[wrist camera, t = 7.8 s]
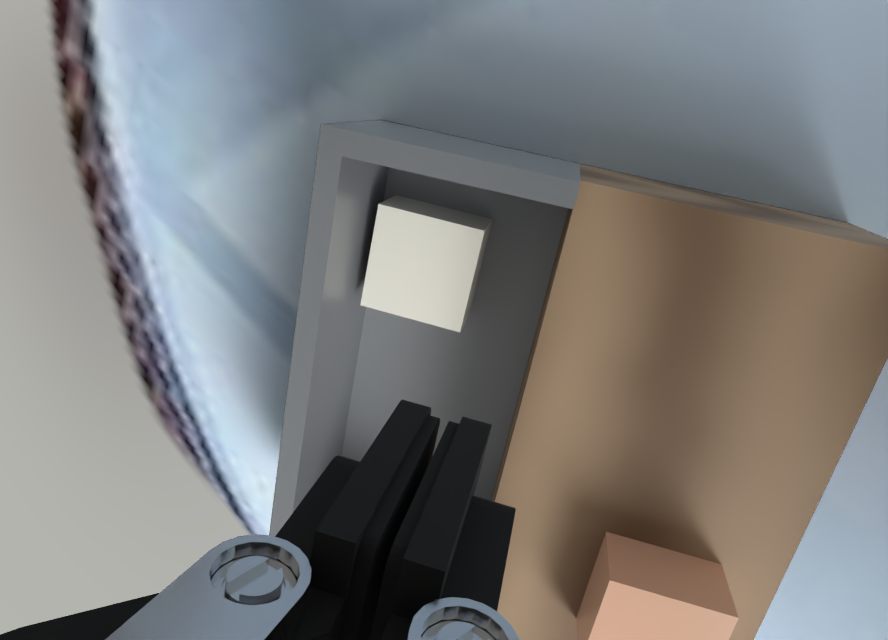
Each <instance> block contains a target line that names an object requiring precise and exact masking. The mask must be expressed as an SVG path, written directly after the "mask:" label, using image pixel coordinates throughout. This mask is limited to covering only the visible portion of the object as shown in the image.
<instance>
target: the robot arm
mask: <svg viewBox="0 0 888 640" xmlns="http://www.w3.org/2000/svg"><path fill="white" fill-rule="evenodd" d="M439 425H440V418H437V417H434V416H431V407H428V406H424V405H421V404H417V403H413V402H410V401H406V400H403V399H402V400H401V401H400V402H399V404H398V405H397V407H396V408H395V410H394V411H393V413H392V414H391V416H390V417H389V419H388V420H387V422H386V423H385V425H384V426H383V428H382V429H381V431H380V432H379V434H378V436H377V437H376V439H375V440H374V442H373V443H372V445H371V446H370V448H369V449H368V451H367V452H366V454H365V455H364V457H363V458H362V460H361V461H360V462H359V461H356V460H353V459H349V458H346V457H343V456H339V455H338V456H335V458H334V459H333V460H332V461H331V462H330V463H329V465H328V466H327V467H326V469H325V470H324V472H323V473H322V474H321V476H320V477H319V478H318V480H317V481H316V482H315V484H314V485H313V486H312V488H311V489H310V490H309V492H308V493H307V494H306V496H305V497H304V498H303V500H302V501H301V502H300V504H299V505H298V506H297V508H296V509H295V511H294V512H293V513H292V515H291V516H290V517H289V519H288V520H287V521H286V523H285V524H284V525H283V527H282V528H281V529H280V531H279V532H278V533H277V535H276V536H275V537H274V536H269V535H257V534H254V535H246V536H238V537H236V538H233V539H230V540H227V541H224V542H222V543H221V544H219V545H217V546H216V547H214V548H213V549H211V550H210V551H208V552H207V553H206V554H205V555H204V556H203V557H202V558H200V559H199V560H198V561H197V562H196V563H194V564H193V565H192V566H191V567H190V568H189V569H187V570H186V571H185V572H184V573H183V574H182V575H180V576H179V577H178V578H177V579H176V580H175V581H174V582H172V583H171V584H170V585H169V586H167V587H166V588H165V589H164V590H163V591H162V592H160V593H157V594H153V595H149V596H145V597H141V598H137V599H133V600H129V601H125V602H121V603H117V604H113V605H109V606H105V607H101V608H97V609H94V610H90V611H85V612H81V613H77V614H74V615H69V616H65V617H61V618H57V619H53V620H49V621H46V622H41V623H37V624H33V625H29V626H25V627H22V628H18V629H16V630H13V631H10V632H7V633H4V634H1V635H0V640H520V639H519V637H518V635H517V634H516V632H515V630H514V629H513V627H512V625H511V624H510V623H509V622H508V621H507V620H506V619H505V618H504V617H503V616H502V615H501V614H500V613H499V612H497V609H498V604H499V598H500V593H501V587H502V582H503V577H504V571H505V566H506V560H507V555H508V550H509V544H510V539H511V533H512V528H513V522H514V517H515V511H516V508H514V507H510V506H507V505H504V504H500V503H497V502H493V501H490V500H487V499H483V498H480V497H477V496H474V495H475V491H476V487H477V483H478V479H479V475H480V471H481V467H482V463H483V459H484V455H485V451H486V447H487V443H488V439H489V435H490V431H491V427H492V425H491V424H488V423H484V422H481V421H477V420H474V419H470V418H467V417H462V419H461V421H460V424H458V423H455V422H451V421H449V422H448V424H447V426H446V428H445V430H444V433H443V435H442V437H441V439H440V441H439V444H438V446H437V448H436V450H435V452H434V448H435V443H436V439H437V434H438V430H439ZM433 452H434V454H433Z"/></svg>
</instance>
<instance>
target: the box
mask: <svg viewBox="0 0 888 640" xmlns="http://www.w3.org/2000/svg"><path fill="white" fill-rule="evenodd" d="M580 184H581V178H580V165H579V163H574V162H570V161H565V160H561V159H556V158H552V157H547V156H542V155H538V154H533V153H529V152H524V151H520V150H515V149H511V148H506V147H502V146H497V145H493V144H488V143H483V142H479V141H474V140H470V139H465V138H461V137H456V136H452V135H447V134H443V133H438V132H434V131H429V130H424V129H420V128H415V127H411V126H406V125H402V124H397V123H393V122H388V121H384V120H371V121H358V122H344V123H330V124H321V125H320V133H319V141H318V149H317V157H316V165H315V173H314V181H313V189H312V197H311V205H310V213H309V221H308V229H307V237H306V245H305V253H304V261H303V269H302V277H301V285H300V293H299V301H298V309H297V317H296V325H295V333H294V341H293V349H292V357H291V365H290V373H289V381H288V389H287V397H286V405H285V413H284V421H283V429H282V437H281V445H280V453H279V461H278V469H277V477H276V485H275V493H274V501H273V509H272V517H271V525H270V533H269V536H274V537H275V536H276V535H277V533H278V532H279V531H280V529H281V528H282V527H283V525H284V524H285V523H286V521H287V520H288V519H289V517H290V516H291V515H292V513H293V512H294V511H295V509H296V508H297V506H298V505H299V504H300V502H301V501H302V500H303V498H304V497H305V496H306V494H307V493H308V492H309V490H310V489H311V488H312V486H313V485H314V484H315V482H316V481H317V480H318V478H319V477H320V476H321V474H322V473H323V472H324V470H325V469H326V467H327V466H328V465H329V463H330V462H331V461H332V460H333V459H334V458H335V456H338V455H339V456H343V457H346V458H349V459H353V460H356V461H359V462H360V461H361V460H362V458H363V457H364V455H365V454H366V452H367V451H368V449H369V448H370V446H371V445H372V443H373V442H374V440H375V439H376V437H377V436H378V434H379V432H380V431H381V429H382V428H383V426H384V425H385V423H386V422H387V420H388V419H389V417H390V416H391V414H392V413H393V411H394V410H395V408H396V407H397V405H398V404H399V402H400V401H401V400H402V399H403V400H406V401H410V402H413V403H417V404H421V405H424V406H428V407H431V416H434V417H437V418H440V425H439V430H438V434H437V439H436V443H435V448H434V452H435V450H436V448H437V446H438V444H439V441H440V439H441V437H442V435H443V433H444V430H445V428H446V426H447V424H448V422H449V421H451V422H455V423H458V424H460V421H461V419H462V417H467V418H470V419H474V420H477V421H481V422H484V423H488V424H491V425H492V427H491V431H490V435H489V439H488V443H487V447H486V451H485V455H484V459H483V463H482V467H481V471H480V475H479V479H478V483H477V487H476V491H475V495H474V496H477V497H480V498H483V499H487V500H490V501H491V498H492V494H493V490H494V486H495V483H496V479H497V475H498V471H499V467H500V464H501V460H502V456H503V452H504V449H505V445H506V441H507V437H508V433H509V430H510V426H511V422H512V418H513V415H514V411H515V407H516V403H517V399H518V396H519V392H520V388H521V384H522V381H523V377H524V373H525V369H526V365H527V362H528V358H529V354H530V350H531V347H532V343H533V339H534V335H535V331H536V328H537V324H538V320H539V316H540V313H541V309H542V305H543V301H544V297H545V294H546V290H547V286H548V282H549V278H550V275H551V271H552V267H553V263H554V260H555V256H556V252H557V248H558V244H559V241H560V237H561V233H562V229H563V226H564V222H565V218H566V214H567V210H568V208H570V209H574V206H575V202H576V199H577V195H578V191H579V187H580ZM395 195H398V196H402V197H406V198H410V199H414V200H418V201H422V202H426V203H430V204H434V205H438V206H442V207H446V208H450V209H454V210H457V211H461V212H465V213H469V214H473V215H477V216H481V217H485V218H489V219H493V221H492V225H491V229H490V233H489V237H488V241H487V246H486V250H485V254H484V258H483V262H482V266H481V270H480V274H479V278H478V282H477V287H476V291H475V295H474V299H473V303H472V307H471V311H470V314H469V316H468V318H467V320H466V322H465V324H464V326H463V328H462V330H461V332H456V331H453V330H449V329H446V328H442V327H438V326H435V325H431V324H427V323H424V322H420V321H416V320H413V319H409V318H405V317H402V316H398V315H394V314H391V313H387V312H383V311H380V310H376V309H372V308H369V307H365V306H361V305H360V304H361V298H362V293H363V287H364V282H365V276H366V271H367V265H368V259H369V254H370V248H371V243H372V237H373V232H374V226H375V220H376V215H377V209H378V204H379V203H381V202H383V201H385V200H387V199H389V198H391V197H393V196H395ZM434 452H433V454H434Z"/></svg>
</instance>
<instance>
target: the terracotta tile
mask: <svg viewBox="0 0 888 640" xmlns="http://www.w3.org/2000/svg"><path fill="white" fill-rule="evenodd" d="M738 619H739V617H738V614H737V611H736V608H735V605H734V601H733V598H732V595H731V592H730V589H729V586H728V583H727V580H726V576H725V573H724V570H723V567H722V564H718V563H715V562H711V561H708V560H704V559H701V558H697V557H694V556H690V555H687V554H683V553H680V552H676V551H673V550H669V549H666V548H662V547H659V546H655V545H652V544H648V543H644V542H641V541H637V540H634V539H630V538H627V537H623V536H620V535H616V534H613V533H609V532H606V534H605V537H604V539H603V542H602V545H601V548H600V551H599V554H598V557H597V560H596V563H595V565H594V568H593V571H592V574H591V577H590V580H589V583H588V586H587V589H586V592H585V594H584V597H583V600H582V603H581V606H580V609H579V612H578V615H577V618H576V640H729V638H730V636H731V634H732V632H733V630H734V627H735V625H736V623H737V621H738Z"/></svg>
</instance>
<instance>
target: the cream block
mask: <svg viewBox="0 0 888 640" xmlns="http://www.w3.org/2000/svg"><path fill="white" fill-rule="evenodd" d="M492 221H493V219H489V218H485V217H481V216H477V215H473V214H469V213H465V212H461V211H457V210H454V209H450V208H446V207H442V206H438V205H434V204H430V203H426V202H422V201H418V200H414V199H410V198H406V197H402V196H398V195H395V196H393V197H391V198H389V199H387V200H385V201H383V202H381V203H379V204H378V209H377V215H376V220H375V226H374V232H373V237H372V243H371V248H370V254H369V259H368V265H367V271H366V276H365V282H364V287H363V293H362V298H361V304H360V305H361V306H365V307H369V308H372V309H376V310H380V311H383V312H387V313H391V314H394V315H398V316H402V317H405V318H409V319H413V320H416V321H420V322H424V323H427V324H431V325H435V326H438V327H442V328H446V329H449V330H453V331H456V332H461V330H462V328H463V326H464V324H465V322H466V320H467V318H468V316H469V314H470V311H471V307H472V303H473V299H474V295H475V291H476V287H477V282H478V278H479V274H480V270H481V266H482V262H483V258H484V254H485V250H486V246H487V241H488V237H489V233H490V229H491V225H492Z"/></svg>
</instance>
